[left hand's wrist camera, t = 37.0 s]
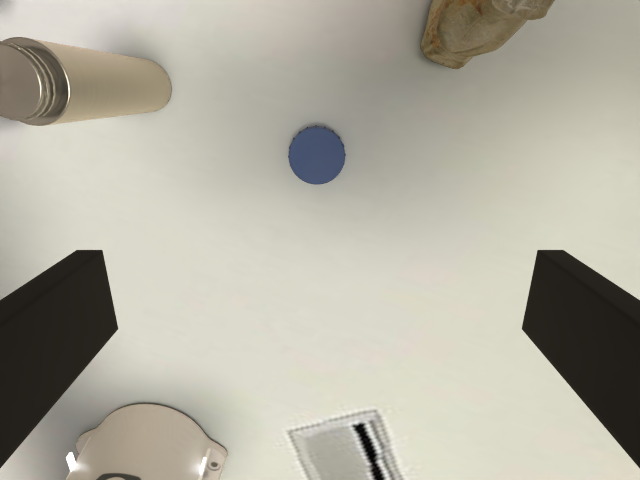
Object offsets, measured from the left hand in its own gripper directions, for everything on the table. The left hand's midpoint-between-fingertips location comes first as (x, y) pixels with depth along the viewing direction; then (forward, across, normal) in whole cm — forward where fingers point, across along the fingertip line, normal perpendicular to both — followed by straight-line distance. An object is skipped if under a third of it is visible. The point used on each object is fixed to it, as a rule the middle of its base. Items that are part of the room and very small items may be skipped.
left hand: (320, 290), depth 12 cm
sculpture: (+29, -11, -11) cm, 33 cm away
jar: (+29, +16, -6) cm, 33 cm away
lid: (+27, 0, 0) cm, 27 cm away
